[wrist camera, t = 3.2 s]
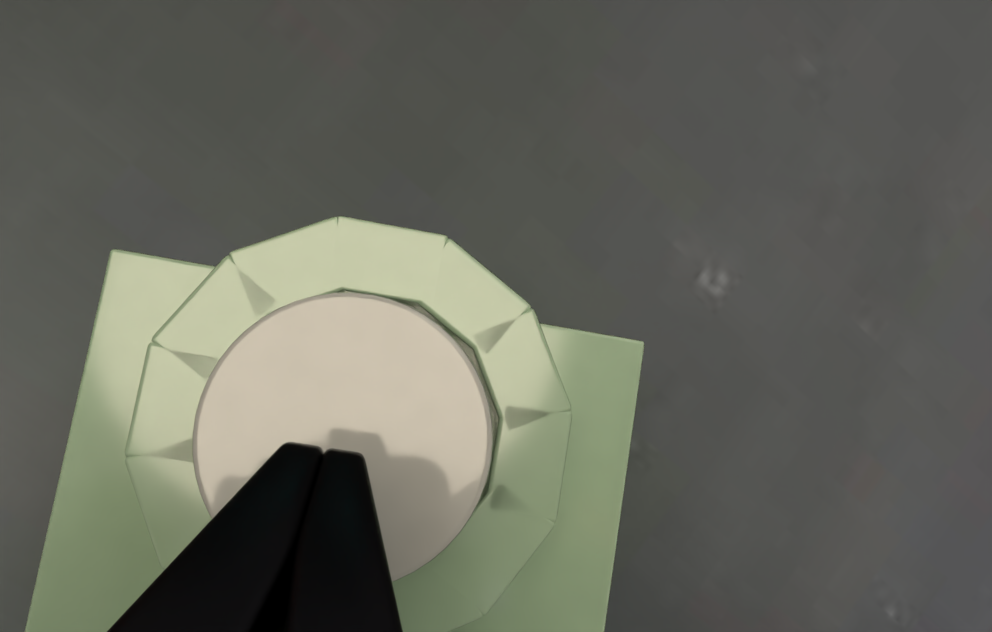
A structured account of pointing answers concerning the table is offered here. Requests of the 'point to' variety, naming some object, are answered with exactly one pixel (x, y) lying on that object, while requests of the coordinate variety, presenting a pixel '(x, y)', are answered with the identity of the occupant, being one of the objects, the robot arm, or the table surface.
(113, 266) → the push button box
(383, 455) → the grey short cylinder
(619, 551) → the table surface
